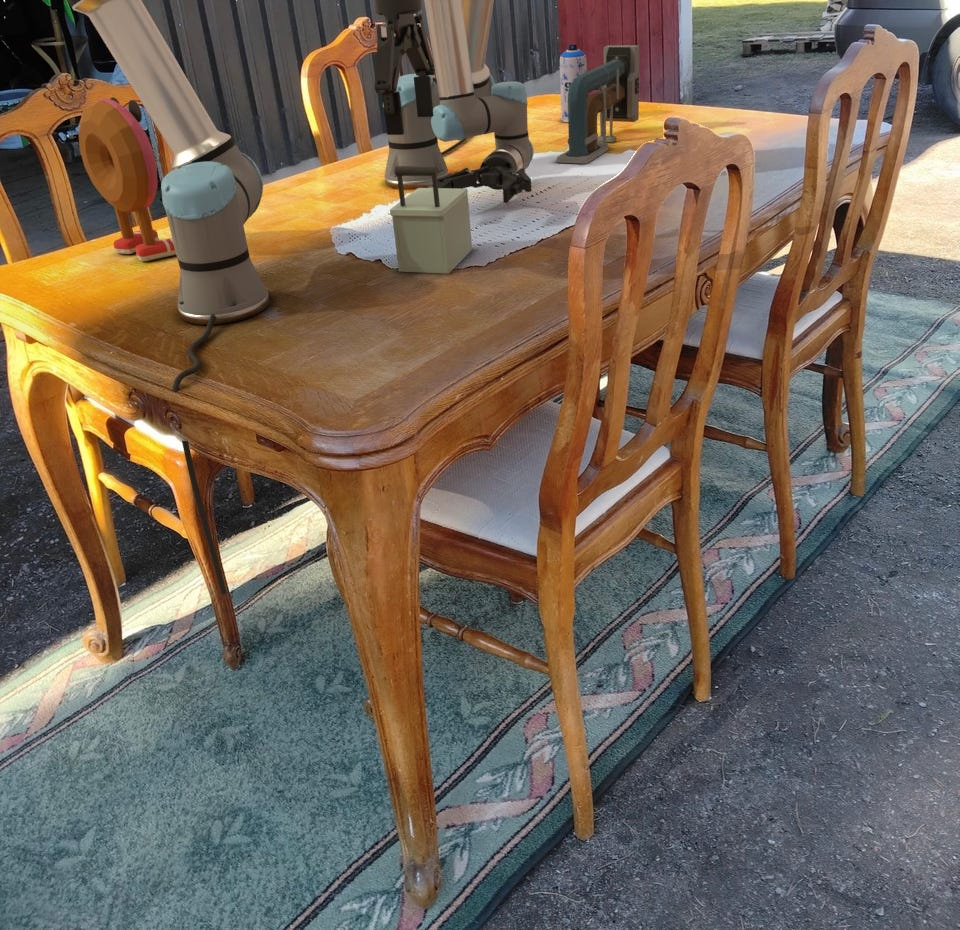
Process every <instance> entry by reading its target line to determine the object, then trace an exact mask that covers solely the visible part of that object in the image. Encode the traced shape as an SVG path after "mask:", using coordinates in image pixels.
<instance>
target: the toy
mask: <svg viewBox="0 0 960 930" xmlns="http://www.w3.org/2000/svg"><path fill="white" fill-rule="evenodd" d="M127 105H128V108H126V107H125V106H123V105H122V104H121V103H120V101H119V100H118V98H116V97H115V96H112V97H110V98H107V97H103V98H101V99H99V100H97V101H95V102H93V103H91V104H89V105H88V106H86V107H85V108H84V109H83V110H82V114H81V116H80V120H79V124H78V146H79V152H80V155H81V156H80V157H81V160H82V163H83V166H84V169H85V171H86V173H87V175H88V177H89V179H90V181H91V184H93V186H94V187H95V189H96V190H97V191H98V193H99V194H100V195H101V196H102V198H104V200H105V201H106V202H107V203H108V204H109V205H111V206H112V207H113V209H114V212H115V215H116V218H117V223H118V226H119V230H120V234H121V237H120V238H118V239H116V240H114V241H113V248H114V252H115V253H117V254H122V255H130V254H134V253H135V254H136V257H137V259H138V260H139V261H141V262H147V261H148V262H149V261H153V260H157V259H164V258H167V257H172V256H177V255H176V251H175V247H174V243H173V239H172V237H169V238H165V239H160V238H159V234H158V232H157V230H156V229H154V228H153V224H152V219H151V215H150V212H149V209H148V208H149V207H150V206H151V205H152V203H153V202H154V200H155V198H156V195H157V190H158V166H157V160H156V157H155V153H154V150H153V147H152V144H151V142H150V140H149V139H150V138H149V137H148V135H147V133H146V131H145V129H144V128H143V126H142V125H141V122H142V119H143V118H142V115H143V113H142V110H141V107H140V106H139V104H138V102H137V101H136V100H134V99H131V100H129V101H128V104H127ZM133 212H135V215H136V219H137V223H138V227H139V229H138V230H136V231H134V230H133V226H132V225H133V224H132V220H131V217H130V213H133Z"/></svg>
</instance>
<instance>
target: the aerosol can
mask: <svg viewBox="0 0 960 930" xmlns="http://www.w3.org/2000/svg"><path fill="white" fill-rule="evenodd" d="M586 72H588V63H587V55H586V54H585V52H584V51H583V50H581V49H579V48H578V44H577V43H574V44H568V48H567V49H566V50H565V51H563V52H562V53H561V55H560V56H559V79H560V81H559V83H560V84H559V85H560V113H561V115H560V116H561V117H560V121H561V122H563V123H568V91H569V88H570V85H571V84H572V82H573V81H574V80H575V79H576V78H577V77H578V76H579V75H581V74H584V73H586Z"/></svg>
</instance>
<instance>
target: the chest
mask: <svg viewBox="0 0 960 930" xmlns="http://www.w3.org/2000/svg"><path fill="white" fill-rule="evenodd" d="M391 218H392V227H393V235H394V243H395V250H396V251H395V252H396V259H397V267H398V272H401V273H421V274H423V273H426V274H448V275H449V274H450V273H451V272H452V271H453V270H454V269H455V268H457V266H458V265H459V264H460V263H461V262H462V261H463V260H464V259H465V258H466V257H467V256H468V255H469V254H470V253H471V252H472V251H473V244H472V231H471V229H472V228H471V218H470V207H469V195H466V196H465V197H464V198H463V199H462V200H461V201H459V202H458V203H457V204H456V205H455V206H454V207H453V208H451V209H450V210H449V211H448V212H447V213H446V214H444V215H443V216H442V217H435V216H391Z"/></svg>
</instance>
